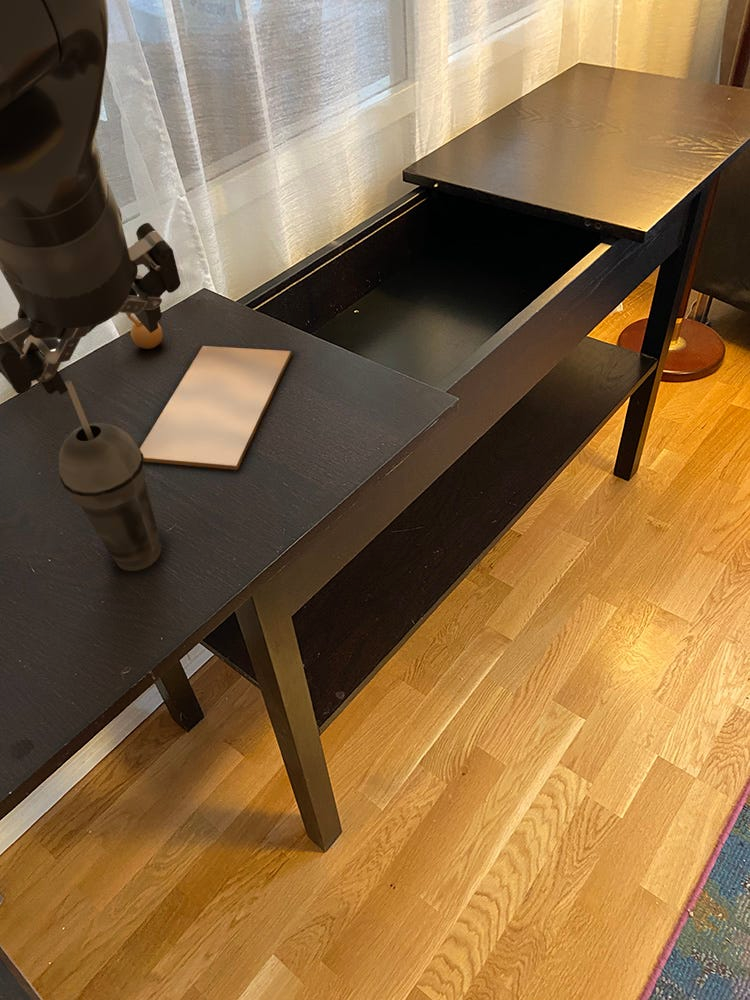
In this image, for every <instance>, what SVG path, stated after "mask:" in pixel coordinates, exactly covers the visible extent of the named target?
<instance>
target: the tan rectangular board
mask: <svg viewBox="0 0 750 1000" xmlns="http://www.w3.org/2000/svg"><path fill="white" fill-rule="evenodd" d="M291 357H292V351H291V350H280V349H279V350H278V349H263V348H246V347H245V348H244V347H229V346H211V345H202V346H201V348H200V350H199V351H198V353H197V355H196V357H194V360H193V361H192V363H191V364H190V366H189V367H188V369H187V371H186V372H185V374H184V375H183V377H182V379H181V381H180V382H179V383H178V386H177V387H176V389H175V391H174V392H173V394H172V395H171V397H170V398H169V400H168V402H167V404H166V405H165V407H164V408H163V409H162V411H161V413H160V415H159V416H158V418H157V419H156V421H155V423H154V424H153V426H152V428H151V429H150V430H149V433H148V434H147V436H146V438H145V439H144V441H143V442H142V444H141V445H140V448H139V449H140V451H141V452H142V454H143V457H144V463H146V462H147V463H157V464H166V465H167V464H168V465H178V466H179V465H180V466H190V467H201V468H212V469H221V470H223V469H224V470H235V471H237V470H238V469H239V468H240V465H241V463H242V461H243V459H244V457H245V454H246V452H247V451H248V449H249V446H250V445H251V442H252V440H253V438H254V435H255V434H256V431H257V429H258V427H259V425H260V423H261V421H262V419H263V416H264V414H265V412H266V410H267V408H268V406H269V405H270V402H271V399H272V397H273V396H274V393H275V391H276V388H277V386H278V385H279V382H280V380H281V379H282V376H283V373H284V372H285V369H286V367H287V366H288V363H289V362H290V359H291Z"/></svg>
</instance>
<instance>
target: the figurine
mask: <svg viewBox="0 0 750 1000" xmlns="http://www.w3.org/2000/svg"><path fill="white" fill-rule="evenodd" d="M125 315H126V316H127V318H128V319H129V320H130V321H131V322H132V323H133V324H132V326H131V328H130V337H131V339H132V341H133V343H134V344H135V345H136V346H138V347H139V348H141V349H145V350H151V349H154V348H156V347H158V346H159V345H160V343H161V342H162V339H163V329H162V326H161V325H160V323H158V329H156V330H155V331H154V332H152V333H150V332H149V331H148V330H147V329H146V327H145V326H144V325H143V324H142V323H141V322H140V321H139V319H138V318H137V319H136V318H135V317H134V316H132V313H125ZM114 317H117V315H115V316H114Z"/></svg>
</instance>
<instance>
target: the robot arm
mask: <svg viewBox="0 0 750 1000" xmlns="http://www.w3.org/2000/svg"><path fill="white" fill-rule="evenodd" d="M108 11H109V10H108V2H107V0H0V272H1V274H2V275H3V277H4V279H5V281H6V283H7V285H8V286H9V288H10V290H11V292H12V294H13V295H14V297H15V299H16V301H17V303H18V305H19V306H18V311H17V319H16V320H14V321H12V322H10V323H9V324H7V325H6V326H4V327H2V328H0V374H1V375H2V376H3V377H4V378H5V380H6V381H7V382H8V383H9V384H10V385H11V387H12V389H13V390H14V392H15V393H17V394H23V393H25V392H27V391H28V390H29V389H31V387H32V386H33V383H32V382H35V381H37V383H38V384H39V385H40V386H41V387H42V388H43V390H44V391H45V392H46V393H47V394H49V395H52V394H54V393H55V392H57V393H58V394H59V395H60V396H62V395H64V394H65V393H67V392H68V388H67V386H66V384H65V381H64V379H63V377H62V375H61V374H60V372H59V371H58V370H59V368H60V365H61V364H62V363H64V362H68V361H69V362H70V360H71V358H72V356H73V355H74V353H75V351H76V348H77V346H78V345H79V343H80V341H81V339H82V338H84V337H86V336H87V335H88V334H89V333H91V332H92V331H93V330H94V329H95V328H96V327H98V326H99V325H102V324H104V323H105V322H107V321H109V320H111V319H112V318H113V317H116V316H117V315H119V314H126V313H131V314H134V316H135V317H136V318H137V320H138V319H139V321H140V322H141V323H142V324H143V325H144V326H145V327H146V329H147V330H148V331H149V332H150V333H152V332H154V331H155V330H156V329H158V324H159V321H161V318H162V311H161V304H162V302H163V299H162V298H161V297H162V295H163V294H164V293H165V292H167V293H168V294H171V293H174V292H175V291H177V290H178V289H179V288H180V286H181V285H182V284H181V279H180V275H179V271H178V267H177V262H176V259H175V254H174V250H173V248H172V247H171V246H170V245H169V244H168V242H167V241H166V240H165V239H164V238H163V236H161V234H159V232H158V231H157V230H156V229H155V228H154V227H153V225H152V224H151V223H149V222H144V223H142V224H141V225H140V226H139V227H138V228H137V230H136V233H135V234H136V237H137V240H138V241H135V242H134V244H133V245H131V246H130V247H128V243H127V240H126V235H125V231H124V227H123V218H122V216H123V215H122V213H121V210H120V207H119V205H118V202H117V200H116V197H115V194H114V192H113V190H112V188H111V185H110V184H109V182H108V179H107V175H106V173H105V168H104V164H103V160H102V156H101V152H100V148H99V144H98V143H99V142H98V140H97V131H98V127H99V124H100V118H101V114H102V113H101V112H102V104H103V103H102V101H103V92H104V84H105V76H106V67H107V59H108V46H109V31H110V30H109V29H110V27H109V14H108V13H109V12H108ZM140 265H142V266H144V267H145V268H146V270H148V271H147V272H146V273H145V275H143V276H142V274H138V271H139V269H138V266H140ZM115 315H116V316H115Z"/></svg>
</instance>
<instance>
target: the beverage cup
mask: <svg viewBox="0 0 750 1000" xmlns="http://www.w3.org/2000/svg"><path fill="white" fill-rule="evenodd" d="M64 383H65V385H66V386H67V388H68V391H67V392H68V394H69V396H70V399H71V401H72V404H73V406H74V409H75V411H76V413H77V416H78V418H79V421H80V424H81V426H79V427H77V428H76V429H73V431H72V432H71V433H70V434H69V435H68V436H67V437H66V438H65V440H64V441H63V443H62V445H61V447H60V449H59V453H58V471H59V472H58V473H59V475H60V482H61V485H62V486H63V488H64V489H65V490H66V491H68V492H69V494H70V496H71V497H72V498H73V499H74V500H75V502H76V503H78V504H79V505H80V507H81V509H82V510H83V512H84V514H85V516H86V517H87V519H88V520H89V522H90V524H91V525H92V527H93V528H94V530H95V532H96V534H97V535H98V537H99V539H100V540H101V542H102V543H103V545H104V547H105V549H106V550H107V552H108V554H109V555H110V556H111V557H112V558H113V560H114V562H115V563H116V566H118V568H121V569H122V570H124V571H127V572H136V571H141V570H144V569H146V568H148V567H150V566H152V565H153V564H154V563H155V562H157V560H158V559H159V557H160V555H161V552H162V546H161V542H160V534H159V530H158V526H157V522H156V518H155V514H154V509H153V506H152V501H151V498H150V494H149V489H148V485H147V482H146V473H145V462H144V457H143V454H142V452H141V451H140V448H139V447H138V445H137V443H136V442H135V441H134V439H133V438H132V437H131V435H129V434H128V433H127V432H126V431H124V430H123V429H121V428H119V427H118V426H117V425H113V424H110V423H105V422H91V423H89V422H88V419H87V417H86V414H85V412H84V410H83V406H82V404H81V401H80V399H79V397H78V394H77V392H76V389H75V386H74V385H73V382H72V380H66V381H64Z"/></svg>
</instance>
